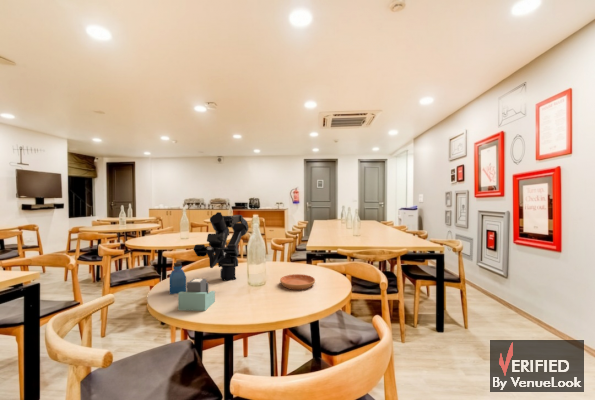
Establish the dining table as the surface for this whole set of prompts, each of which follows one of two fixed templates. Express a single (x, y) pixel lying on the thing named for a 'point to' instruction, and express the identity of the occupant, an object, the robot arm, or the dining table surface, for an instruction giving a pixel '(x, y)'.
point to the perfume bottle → (177, 279)
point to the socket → (195, 300)
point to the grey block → (197, 285)
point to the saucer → (297, 281)
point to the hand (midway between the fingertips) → (211, 267)
